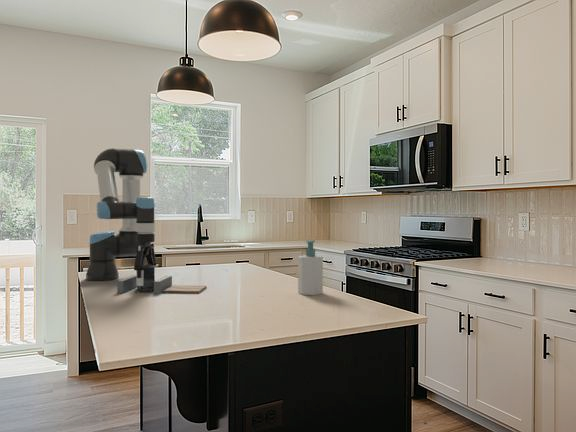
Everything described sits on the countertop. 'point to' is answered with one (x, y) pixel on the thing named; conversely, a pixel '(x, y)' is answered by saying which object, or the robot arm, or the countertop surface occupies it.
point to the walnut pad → (184, 289)
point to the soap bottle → (310, 272)
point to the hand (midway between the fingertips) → (145, 283)
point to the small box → (148, 278)
